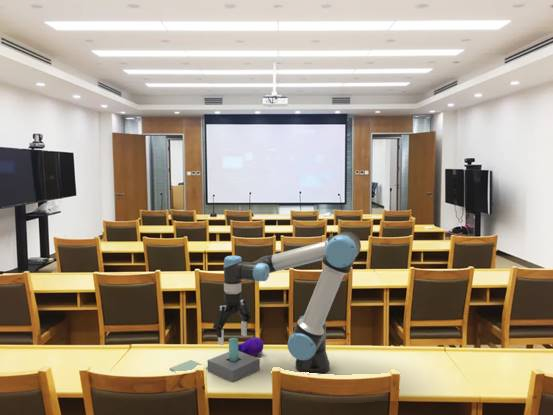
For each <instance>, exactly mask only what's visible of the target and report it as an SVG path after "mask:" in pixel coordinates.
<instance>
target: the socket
mask: <svg viewBox="0 0 553 415" xmlns="http://www.w3.org/2000/svg"><path fill="white" fill-rule="evenodd" d="M260 363H261V359H260V358H259V357H256V356H251V355H248V354H245V353H243V352H240V351H238V361H237V362H234V363H233V362H230V361H229V351H228V352H225V353H222V354H220V355H217V356H215V357H212V358H210V359H207V367H208V369H207V372H208V373H211V374H213V375H214V376H218V377H219V378H221V379H224V380H227V381H229V382H231V383H234V382H237V381H238V380H241V379H243V378H246V377H247V375H248V376H250V375H252V374H254V373H256V372H258V371H260V368H261V367H260V366H261V364H260Z"/></svg>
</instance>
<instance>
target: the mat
mask: <svg viewBox="0 0 553 415" xmlns="http://www.w3.org/2000/svg"><path fill="white" fill-rule="evenodd" d="M197 365H203V364H202V363H199V362H197V361H196V360H192V359H191V360H187V361H185V362H183V363H180V364H177V365H174V366H172V367H169V370H170V371H171V372H173V371H187V370H192V369H194V368H195V367H196V366H197ZM205 366H206V365H205ZM206 370H208V365H207V366H206Z"/></svg>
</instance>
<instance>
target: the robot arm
mask: <svg viewBox="0 0 553 415" xmlns="http://www.w3.org/2000/svg"><path fill="white" fill-rule="evenodd" d="M361 250H362V245H361V240H360V238H359V237H358V236H357V235H356V234H355V233H353V232H350V231H342V232H340V233H338V234H336V235H333V236H330V237H327V238H326V239H325V240H324V241H320V242H316V243H312V244H309V245H305V246H301V247H298V248H297V247H296V248H293V249H290V250H289V249H288V250H286V251H283V252H279V253H274V254H271V255H264V256H261V257H260V258H259V259H257V260H254V261H253V262H252V261H251V262H250V261H242V257H241V256H239V255H227V256H225V257H224V260H223V280H224V281H223V291H224V293H223V301H224V305H219V306H218V311H217V314H216V317H215V319H214V323H213V326H212V329H214V330H216V337H217V344H218V345H221V346H222V345H223V346H224V341H225V340H224V337H225V336H224V335H225V334H224V333H225V332H224V329H223V328H224V326H225V324H226V322H227V321H228V320H229V317H231V315H234V314H237V315H238V316H239V317H240V318H241V322H240V323H241V324H240V325H241V326H240V332H241V335H240V336H243V337H248V336H247V334H248V332H247V331H248V330H247V329H248V323H249V322H250V320H251V319H252V315H251V314H250V311H249V308H248V306H247V301H246V300H245V299H242V280H244V281H245V280H246V281H252V282H253V281H254V282H267V280H268V278H270V274H272V273H275V272H279V271H282V270H287V269H292V268H295V267H300V266H303V265H306V264H307V265H308V264H312V263H315V262H319V261H321V263H322V265H323V268H322V270H321V273H320V276H319V278H318V280H317V283H316V285H315V288H314V290H313V293H312V295H311V297H310V300H309V303H308V305H307V308H306V310H305V312H304V315H301V316H299V319H298V320H297V322H296V324H295V327H294V328H293V332H292V334H291V335H290V336H289V337H288V341H287V350H288V352H289V353H290V355H291V356H292V357H294V358H295V362H294V363H295V370H296V371H297V372H299V371H300V372H299V373H301V372H309V373H323V374H325V373H327V372H329V371H330V368H331V367H330V361H329V358H328V353H327V350H326V349H327V348H326V346H327V342H326V341H327V332H326V331H327V322H326V319H327V317H328V315H329V312H330V310H331V307H332V305H333V302H334V300H335V297H336V295H337V293H338V291H339V288H340V286H341V284H342V280H343V278H344V276H346V275H348V274H350V272H351V269H352V267H353V264H354V262H355V260H356V258H357V256H359V254H360V252H361Z"/></svg>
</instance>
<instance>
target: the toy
mask: <svg viewBox="0 0 553 415" xmlns="http://www.w3.org/2000/svg"><path fill="white" fill-rule="evenodd" d="M263 350H264V341H263V340H262V339H261V338H259V337H257V336H256V337H251V338H249V339H247V340H245V341H244V342H243V343H242V342H241V343H238V351H240V352H243V353H245V354H248V355H251V356H254V357H256V356H259V355H260V354H261V353H262V352H263Z"/></svg>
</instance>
